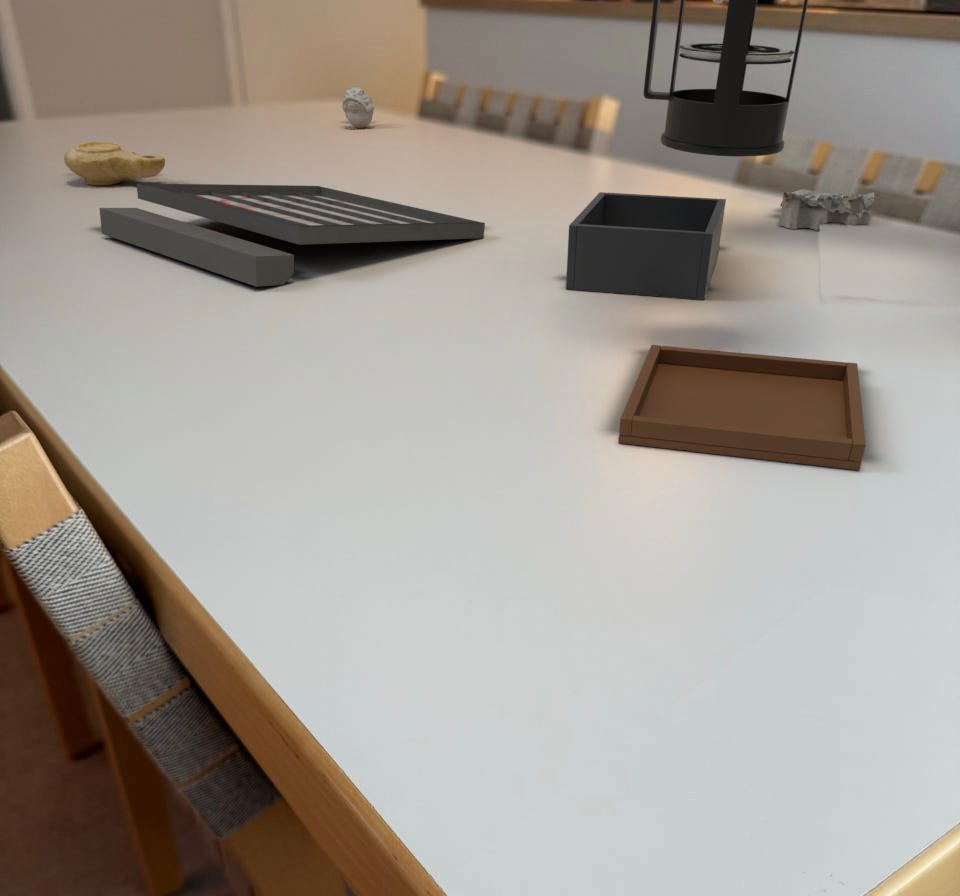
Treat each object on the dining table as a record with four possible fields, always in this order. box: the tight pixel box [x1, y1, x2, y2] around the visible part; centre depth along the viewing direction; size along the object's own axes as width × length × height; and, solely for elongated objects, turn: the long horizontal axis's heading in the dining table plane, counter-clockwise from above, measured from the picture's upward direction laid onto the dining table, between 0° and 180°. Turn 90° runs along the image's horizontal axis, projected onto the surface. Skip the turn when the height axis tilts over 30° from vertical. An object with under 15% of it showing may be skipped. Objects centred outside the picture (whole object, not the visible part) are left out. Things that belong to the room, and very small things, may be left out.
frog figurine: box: [341, 86, 375, 129], centre depth 184 cm, size 6×7×7 cm
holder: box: [565, 191, 727, 301], centre depth 98 cm, size 14×17×6 cm
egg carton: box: [778, 188, 875, 232], centre depth 117 cm, size 11×8×4 cm
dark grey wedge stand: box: [99, 182, 486, 287], centre depth 112 cm, size 32×7×31 cm
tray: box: [617, 344, 867, 471], centre depth 69 cm, size 16×16×2 cm
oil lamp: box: [63, 141, 166, 186], centre depth 139 cm, size 11×14×5 cm
